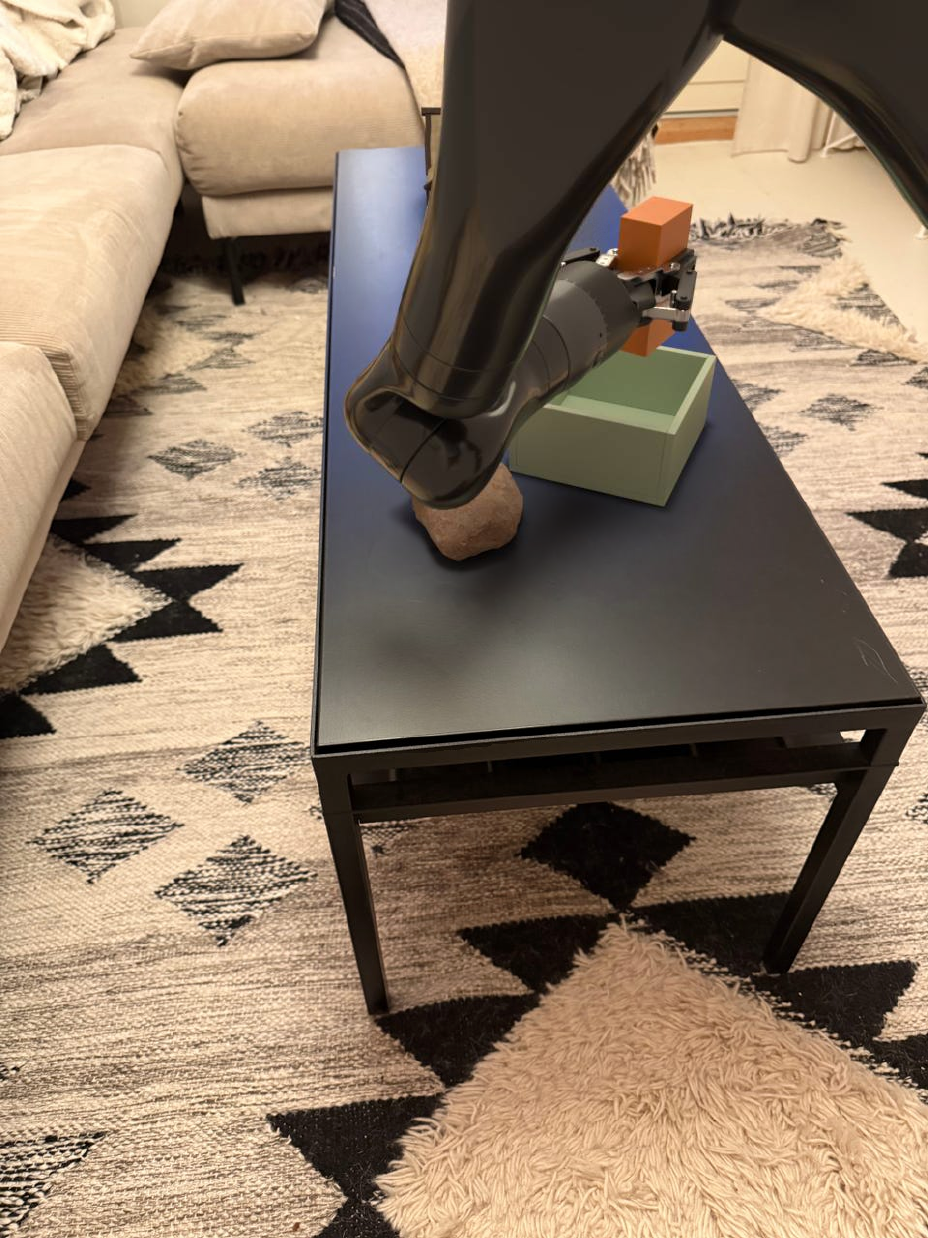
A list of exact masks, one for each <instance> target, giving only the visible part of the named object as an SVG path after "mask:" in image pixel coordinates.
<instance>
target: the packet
mask: <svg viewBox="0 0 928 1238" xmlns="http://www.w3.org/2000/svg"><path fill="white" fill-rule="evenodd" d="M693 209H694V203H690V202H687V201H682V200H681V201H680V200H675V199H670V198H666V197H660V196H656V195H652V196H651V197H649V198H648V199H646V200H645V201H643V202H641V203H640V204H638V205H636V206H635V207H633V208H632V209H630V210H629V211H627V212H626V213H624V214H622V215H621V216H620V219H619V229H618V231H619V232H618V241H617V248H618V251H617V259H618V263H617V266H616V269H618V270H621V271H623V272H624V271H630V272H632V271H634V270H636V269H639V268H641V267H644V266H646V265H648V264H652V265H655V266H657V267H659V266H660V265H662V264H665V263H667V262H668V261H669V260H670V259H671V258H673V257H674V256H675V255H677V254H678V253H680V252H681V251H682V250H684V249H685V248H688V245H689V237H690V230H691V225H692V224H691V223H692V217H693V211H694V210H693ZM675 333H676V331H674V330H673V329H672V323H670V322H668V321H667V320H661V319H654V320H653V321H652V322H651V323H650V324H649V325H647V326H643V327H639V328H637V329H635V330H634V331H633V333H632V334H631V336H630V337H629V339H628V340H627V342H626V343H625V344H624V346H623V347H622V348H621V349H620V350H621V351H625V352H628V353H632V354H635V355H638V356H642V357H647V356H648V355H649V354H650V353H652V352H653V351H654V350H655V349H656V348H657V347H659V346H662V344H664V343H665V342H666V341H667V340H668V339H670V338H671V337H672V336H673V335H675Z"/></svg>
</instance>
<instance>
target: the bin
mask: <svg viewBox="0 0 928 1238" xmlns="http://www.w3.org/2000/svg"><path fill="white" fill-rule="evenodd" d="M717 357H718V356H717V355H715V354H709V353H703V352H697V351H693V350H687V349H681V348H675V347H670V346H665V345H664V346H663V345H660V346H659V347H657V348H656V349H655V350H654V351H653V352H652V353H650V354H649V355H648V356H647V357H642V356H638V355H635V354H632V353H628V352H625V351H621V350H619V351H618V352H616V353H615V354H614V355H613V356H611V357H610V358H609V359H608V360H606V361H605V362H604V363H603V364H601V365H600V366H599V367H598V368H597V369H595V370H594V371H593V372H592V373H590V374H589V375H588V376H587V377H585V378H584V379H583V380H582V381H580V382H579V383H578V384H577V385H575V386H574V387H572V388H570V389H569V390H567V391H565V392H563V393H561V394H559V395H558V396H556V397H555V398H554V399H552V400H551V401H550V402H549V403H547V404H546V405H545V406H544V407H542V408H541V409H540V410H539V411H537V412H536V413H535V414H534V415H533V416H531V417H530V418H529V419H528V420H527V421H526V422H525V423H524V425H523V426H522V427H521V428H520V429H519V431H518V432H517V433H516V435H515V437H514V438H513V440H512V441H511V443H510V445H509V447H508V450H509V451H508V464H509V465H508V470H509V472H514V473H517V474H522V475H526V476H531V477H535V478H539V479H544V480H547V481H552V482H556V483H561V484H565V485H570V486H574V487H577V488H581V489H586V490H591V491H596V492H598V493H603V494H607V495H612V496H616V497H621V498H625V499H629V500H634V501H638V502H643V503H646V504H650V505H654V506H659V507H665V506H666V503H667V501H668V500H669V498H670V496H671V493H672V492H673V489H674V488H675V485H676V484H677V481H678V479H679V478H680V475H681V473H682V472H683V469H684V467H685V465H686V463H687V461H688V459H689V458H690V455H691V453H692V451H693V450H694V447H695V446H696V443H697V441H698V440H699V438H700V435H701V433H702V431H703V429H704V427H705V425H706V420H707V415H708V408H709V403H710V397H711V391H712V387H713V381H714V374H715V369H716V364H717Z"/></svg>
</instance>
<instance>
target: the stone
mask: <svg viewBox="0 0 928 1238" xmlns="http://www.w3.org/2000/svg"><path fill="white" fill-rule="evenodd" d="M405 491H406V492H407V493H408V494H409V495H410V497H411V504H412V506H411V507H412V509H413V511H414V513H415V518H416V520H418V521H419V523H421V524H422V525H423V526H424V527H425V529H426V531H427V533H428V535H429V536H430V538H431V540H432V541H433V543H434V545H435V546H436V547H437V548H438V550H439V552H440V553H441V554H442V556H445V557H447V558H449V559H451V560H454V561H457V562H461V561H462V560H465V559H467V558H471V557H474V556H477V555H479V554H481V553H482V552H483V553H484V552H488V551H489V550H492V549H499V548H501V547H503V546H504V545H505V544H507V543H509V542H511V540H513V538H514V537H515V536H516V534H517V531H518V525H519V524H520V522H521V517H522V512H523V502H524V497H523V494H522V492H521V490H520V488H519V486H518V484H517V482H516V480H515V479H514V477H513V475H512V473H511V471H509V467H507V466H506V465H505V464H504V463H503V462H501V463H500V465H499V467H498V468H497V470H496V472H495V474H494V475H493V477H492V479H491V480H490V482H489V483H488V484H487V486H486V487H485V488H484V490H483V491H482V492H481V493H480V494H479V495H478V496H477V497H476V498H475V499H474V500H472V501H471V502H469V503H468V504H466V505H464V506H462V507H459V508H456V509H450V510H436V509H432V508H429V507H427V506H425V505H424V504H422V503H421V502H419V501H418V500H417V499H416V498H415V497H414V496H412V495H411V494H410V493H409V492H408V491H407V490H406V489H405Z"/></svg>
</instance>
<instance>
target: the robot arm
mask: <svg viewBox="0 0 928 1238" xmlns="http://www.w3.org/2000/svg"><path fill="white" fill-rule="evenodd" d="M722 42H725V43H726V44H728V45H731V46H732V47H734V48H736V49H738V50H739V51H741V52H743V53H745V54H746V55H748V56H750V57H752V58H754V59H755V60H757V61H758V62H761V63H762V64H764V65H766V66H768V67H769V68H771V69H773V70H775V71H776V72H778V73H780V74H782V75H784V76H785V77H787V78H789V79H790V80H792V81H793V82H794V83H796V84H798V85H799V86H800V87H802V88H803V89H804V90H806V91H807V92H809V93H810V94H812V95H813V96H814V97H816V98H817V99H818V100H819V101H820V102H822V104H824V105H825V106H826V107H828V109H830V110H831V111H832V112H833V113H834V114H835V115H836V116H837V117H838V118H839V119H840V120H841V121H842V122H843V123H844V124H845V125H846V126H847V127H848V128H849V130H851V131H852V132H853V133H854V134H855V136H856V137H857V138H858V140H860V142H861V143H862V145H863V146H864V147H865V148H866V149H867V150H868V152H869V153H870V154H871V156H872V157H873V158H874V159H875V161H876V162H877V163H878V165H879V167H880V168H881V169H882V171H883V172H884V174H885V175H886V176H887V178H888V179H889V181H890V182H891V184H892V185H893V186H894V188H895V189H896V191H897V192H898V193H899V195H900V196H901V198H902V199H903V201H904V202H905V204H906V205H907V206H908V208H909V209H910V211H911V212H912V213H913V214H914V216H915V217H916V219H917V220H918V222H920V224H921V225H922V226H923V228H924V229H925V230H926V232H927V233H928V0H446V12H445V27H444V45H443V62H442V63H443V65H442V83H441V102H440V103H441V104H440V107H441V115H440V124H439V134H438V143H437V151H436V159H435V167H434V174H433V180H432V186H431V192H430V197H429V202H428V206H427V205H426V211H425V213H424V214H425V215H424V219H423V223H422V226H421V230H420V233H419V236H418V239H417V243H416V246H415V249H414V253H413V257H412V260H411V262H410V263H411V264H410V267H409V270H408V274H407V277H406V281H405V285H404V288H403V291H402V295H401V297H400V298H401V299H400V303H399V307H398V310H397V314H396V317H395V322H394V325H393V329H392V331H391V333H390V335H389V337H388V339H387V341H386V342H385V344H384V345H383V347H382V349H381V350H380V352H379V353H378V354H377V355H376V357H375V358H374V359H373V360H372V361H371V362H370V363H369V364H368V365H367V366H366V367H365V368H364V370H362V372H361V373H359V374H358V376H357V377H356V378H355V379H354V381H353V382H352V384H351V385H350V387H349V388H348V390H347V392H346V395H345V396H344V401H343V416H344V417H343V418H344V421H345V424H346V427H347V430H348V432H349V434H350V435H351V437H352V438H353V440H354V441H355V442H356V443H357V444H358V445H359V446H360V448H362V449H363V450H364V451H365V452H366V453H367V454H368V455H369V456H370V457H371V458H372V459H373V460H374V461H375V462H377V463H378V464H379V465H380V467H382V468H383V469H384V470H385V471H386V472H387V473H388V474H390V476H392V477H393V478H394V480H396V481H397V482H398V483H399V484H400V485H401V486H402V487H403V488H404V490H405V491H406V490H407V491H408V492H409V493H410V494H411V495H412V496H414V497H415V498H416V499H417V500H418V501H419V502H421V503H422V504H424V505H425V506H427V507H429V508H432V509H436V510H450V509H456V508H459V507H462V506H464V505H466V504H468V503H469V502H471V501H472V500H474V499H475V498H476V497H477V496H478V495H479V494H480V493H481V492H482V491H483V490H484V488H485V487H486V486H487V484H488V483H489V482H490V480H491V479H492V477H493V475H494V474H495V472H496V470H497V468H498V467H499V465H500V463H502V461H503V459H504V457H505V455H506V453H507V451H508V450H509V445H510V443H511V441H512V440H513V438H514V437H515V435H516V433H517V432H518V431H519V429H520V428H521V427H522V426H523V425H524V423H525V422H526V421H527V420H528V419H529V418H530V417H531V416H533V415H534V414H535V413H536V412H537V411H539V410H540V409H541V408H542V407H544V406H545V405H546V404H547V403H549V402H550V401H551V400H552V399H554V398H555V397H556V396H558V395H559V394H561V393H563V392H565V391H567V390H569V389H570V388H572V387H574V386H575V385H577V384H578V383H579V382H580V381H582V380H583V379H584V378H585V377H587V376H588V375H589V374H590V373H592V372H593V371H594V370H595V369H597V368H598V367H599V366H600V365H601V364H603V363H604V362H605V361H606V360H608V359H609V358H610V357H611V356H613V355H614V354H615V353H616V352H618V351H619V350H620V349H621V348H622V347H623V346H624V344H625V343H626V342H627V340H628V339H629V337H630V336H631V334H632V333H633V331H634V330H635V329H637V328H639V327H643V326H647V325H649V324H650V323H651V322H652V321H653V320H654V319H661V320H667V321H668V322H670V323H672V329H673V330H674V331H675V332H679V333H682V332H683V333H684V332H686V331H688V329H689V324H690V318H691V313H692V309H693V304H694V296H695V291H696V284H697V283H696V282H697V278H698V271H697V270H696V265H697V258H698V255H695V249H694V248H689V247H687V248H685V249H684V250H682V251H681V252H680V253H678V254H677V255H675V256H674V257H673V258H671V259H670V260H669V261H668V262H667V263H665V264H662V265H660V266H659V267H657V266H655V265H652V264H648V265H646V266H644V267H641V268H639V269H636V270H634V271H632V272H630V271H624V272H623V271H621V270H618V269H616V266H617V263H618V259H617V251H618V247H614V248H609V249H608V250H607V252H605V253H602V252H601V248H600V247H599V246H596V245H591V246H586V247H583V248H579V249H576V250H574V251H570V252H568V250H569V249H570V246H571V245H572V243H573V241H574V239H575V237H576V236H577V234H578V232H579V230H580V229H581V227H582V225H583V223H584V222H585V220H586V218H587V217H588V216H589V214H590V213H591V211H592V210H593V208H594V206H595V205H596V203H597V202H598V200H599V199H600V198H601V196H602V194H603V193H604V192H605V191H606V189H607V188H608V186H609V185H610V184H611V182H613V180H614V178H615V177H616V176H617V175H618V173H619V172H620V171H621V169H623V167H624V166H625V165H626V163H627V162H628V161H629V159H630V158H631V157H632V156H633V154H634V153H635V152H636V150H637V149H638V147H639V146H640V145H641V144H642V143H643V141H644V140H645V139H646V137H647V136H648V135H649V134H650V133H651V132H652V130H653V129H654V128H655V126H656V125H657V124H658V122H660V120H661V119H662V117H663V116H664V115H665V114H666V113H667V111H668V110H669V108H670V107H671V106H672V105H673V104H674V103H675V102H676V100H677V99H678V97H679V96H680V95H681V93H682V92H683V91H684V90H685V89H686V88H687V86H688V85H689V84H690V82H691V81H692V80H693V78H694V77H695V76H696V75H697V73H699V72H700V70H701V69H702V68H703V67H704V65H705V64H706V63H707V62H708V60H709V59H710V58H711V57H712V56H713V55H714V53H715V52H716V50H717V49H718V48H719V45H721V43H722ZM407 491H406V492H407ZM408 492H407V493H408ZM409 493H408V494H409ZM410 494H409V495H410ZM411 495H410V496H411Z"/></svg>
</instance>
